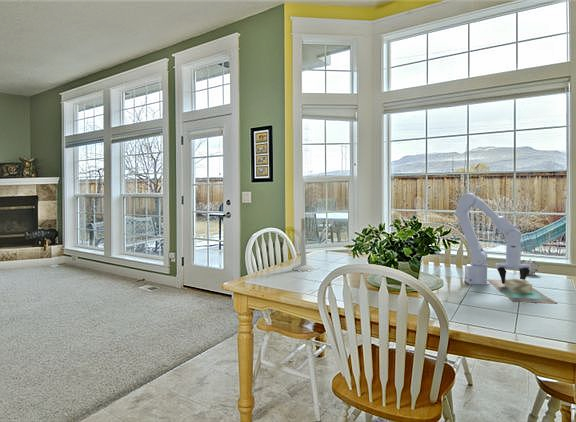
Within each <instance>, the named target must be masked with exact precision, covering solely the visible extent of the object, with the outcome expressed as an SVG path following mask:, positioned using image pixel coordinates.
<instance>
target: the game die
mask: <svg viewBox="0 0 576 422" xmlns="http://www.w3.org/2000/svg"><path fill="white" fill-rule="evenodd" d="M522 261H523V262H520V264H530V265H531V269H529V270H530V272H529V273H528V275H527V276H529V275H532V274H534V275H536V272H539V269H538V267H540V265H539V264H537V263H536V260H532V259H531V258H529V259H527V260H524V259H522Z"/></svg>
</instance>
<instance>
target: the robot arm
mask: <svg viewBox="0 0 576 422" xmlns="http://www.w3.org/2000/svg"><path fill="white" fill-rule="evenodd" d="M456 206H457V207H456V208H455V209H456V210H455V214H456V217H457V220H458V223H459V225H460V228H461V230H462V232H463V235H464V237H465V239H466V242H467V245H468V247H469V252H470V253H469V254H470V264H468V263H467V264H465V266H464V281H465V282H466V283H467V284H469V285H484V286H486V285H488V286H489V285H491V283H489V282H488V281H487V279H488V263H487V262H486V261H487V259H488V253H487V252H486V251H485V250H484V249H483V246H482V245H481V244H480V242H479V239H478V236H477V234H476V231H475V229H474V226H473V224H472V222H471V218H470V217H469V214H468V213H469V211H470V210H471V208H475V209H479V210H481V211H482V212H483V213H484V214H485V215H486V216H487V217H488V218H490V219H491V220H492V225H493V226H494V227H495V228H496V229H497V230H498V231H499V232H500V233H501V234H502V235H504V236H505V238H506V249H505V252H506V253H505V254H506V255H505V262H501V263H497V262H496V263H494V267H495V269H496V270H497V272H498V274H499V276H500V280H502V283H503V284H505V279H506V275H507V270H506V269H517V270H518V269H519V279H525V280H526V279H527V276H529V275H528V273H529V272H530V270H529V269H531V265H530V264H520V263H521V256H522V255H521V254H522V253H521V252H522V245H521V244H522V241H521V239H522V232H521V231H520V229H519V228H517V226H516V225H513V224H512V222H510V221H509V218H508V217H507V216H506V217H504V215H498V214H497V213H496V212H495V211H494V210H493V208H491V207H490V206H489V205H488V204H487V203H486V202H485V201H484V200H483V199H482V198H480V197H479V196H477V195H476V194H475V193H474V192H465V193H463V194H462V195H461V196H460V198H459V199H458V202H457V205H456Z"/></svg>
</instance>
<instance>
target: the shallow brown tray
mask: <svg viewBox="0 0 576 422" xmlns="http://www.w3.org/2000/svg"><path fill="white" fill-rule="evenodd" d="M487 282H488V283H490V285H492V286H493V287H494V288H496V289H497V290H498V291H500V293H501V294H503V295H504V296H506V298H508V299H509V300H510V301H512V302H515V303H532V304H533V303H535V304H558V302H557V301H555V300H553V299H551V298H550V297H549V296H547V295H545V294H543V293H542V292H541V291H538V290H537V289H535V288H534V287H532V293H518V292H511V291H509V290H508V289H506V288H505V284H503V283H502V280H501V279H488V278H487Z"/></svg>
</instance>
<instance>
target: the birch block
mask: <svg viewBox="0 0 576 422" xmlns="http://www.w3.org/2000/svg"><path fill="white" fill-rule="evenodd" d="M505 288H506V289H508V290H509V291H511V292H518V293H532V288H533V283H532V282H530V281H528V280H526V278H525V279H520V278H505Z"/></svg>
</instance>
